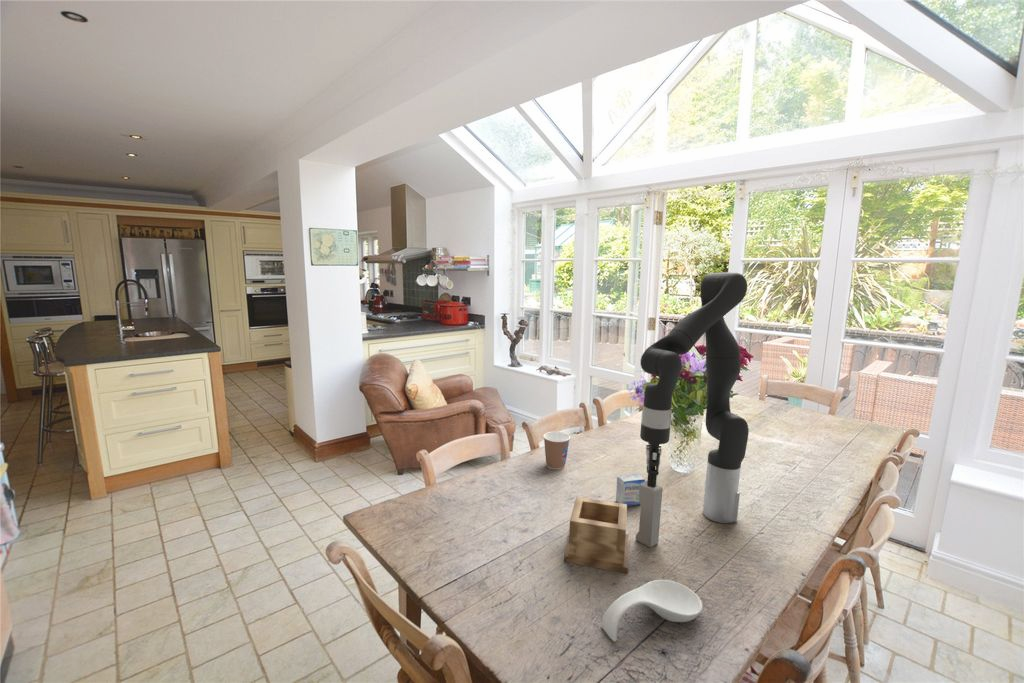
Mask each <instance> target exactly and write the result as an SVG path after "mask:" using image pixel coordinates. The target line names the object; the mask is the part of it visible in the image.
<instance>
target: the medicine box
mask: <svg viewBox="0 0 1024 683" xmlns="http://www.w3.org/2000/svg"><path fill="white" fill-rule="evenodd" d="M645 481H646V479H645V478H644V477H642V475H640V474H639V473H637V474H629V475H620V476H617V477H616V491H615V492H616V493H615V494H616V495H615V501H616V503H621V504H627V507H631V506H637V505H640V501H639V484H641V483H643V482H645Z"/></svg>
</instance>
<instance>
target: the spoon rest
mask: <svg viewBox="0 0 1024 683" xmlns="http://www.w3.org/2000/svg"><path fill="white" fill-rule="evenodd" d="M639 605H646V606H648V607H649V608H650V609H651V610H653V611H654V612H655V613H656V614H657V615H658V616H660V618H663V620H666V621H669V622H673V623H688V622H690V621H692V620H694V619H696V618H698V617H699V615H700V614H701V613H702V611H703V602H702V600H701V598H700V597H699V596H698V595H697V593H695V592H694V591H693V590H691V589H690V588H689V587H687V586H686V585H684V584H683V583H682V584H681V583H680V582H677V581H675V580H674V581H673V580H670V579H655V580H651V581H649V582H646V583H645V584H642V585H641V586H639V587H636V588H635V589H632V590H629V591H628V592H625V593H623V594H622V595H621V596H619V597H618V598H616V600H614V601H613V602H612V603H611V604H610V606H609V607H608V608H607V610H605V613H604V614H603V617H602V618H601V622H600V623H601V624H600V627H601V628H602V630H603V631H604V632H605V634H606V635H607V636H608V637H609V639H611V641H612V642H614V643H615V642H617V639H618V638H617V636H618V631H619V630H618V628H619V624H620V622H621V619H622V618H623V616H624V615H625V614H626V613H627V612H628V611H629V610H630V609H632V608H634V607H636V606H639Z"/></svg>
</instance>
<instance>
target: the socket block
mask: <svg viewBox="0 0 1024 683" xmlns="http://www.w3.org/2000/svg"><path fill="white" fill-rule="evenodd" d="M574 500H575V501H574V505H573V508H572V512H571V516H570V519H569V532H568V533H569V536H568V538H567V539H568V540H567V542H566V543H567V544H566V547H565V550H564V555H563V562H567V563H571V564H577V565H581V566H587V567H593V568H597V569H603V570H608V571H613V572H617V573H618V572H619V573H624V574H628V567H629V565H628V564H629V540H630V539H629V534H628V533H627V513H628V512H627V511H628V508H627V507H628V506H627V504H621V503H618V502H614V501H609V500H608V501H607V500H601V499H594V498H588V497H587V498H586V497H583V496H582V497H580V496H576V497H575V499H574Z"/></svg>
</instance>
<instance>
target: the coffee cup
mask: <svg viewBox="0 0 1024 683" xmlns="http://www.w3.org/2000/svg"><path fill="white" fill-rule="evenodd" d="M570 439H571V436H570V435H569V434H568V433H566V432H563V431H562V432H561V431H547V432H546V433H544V434H543V440H544V441H543V443H544V453H545V454H544V455H545V462H546V467H547V468H548V469H551V470H562V469H564V468H565V465H566V462H567V456H568V450H569V445H570Z"/></svg>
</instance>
